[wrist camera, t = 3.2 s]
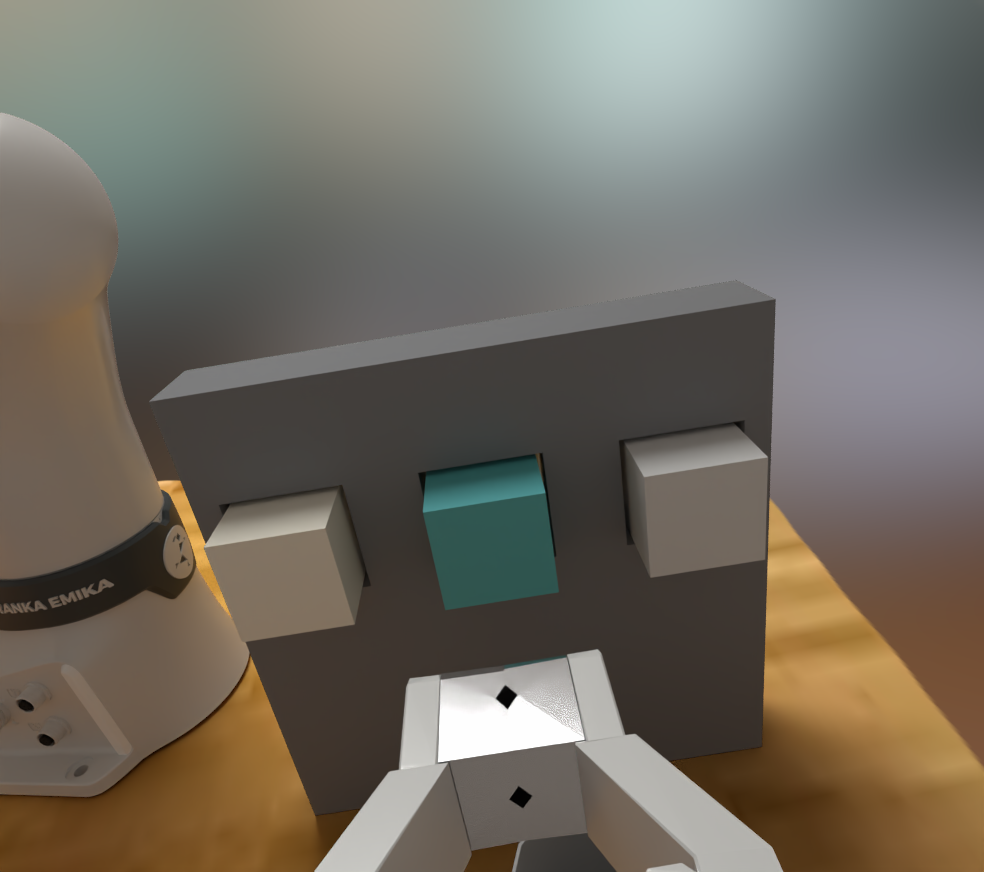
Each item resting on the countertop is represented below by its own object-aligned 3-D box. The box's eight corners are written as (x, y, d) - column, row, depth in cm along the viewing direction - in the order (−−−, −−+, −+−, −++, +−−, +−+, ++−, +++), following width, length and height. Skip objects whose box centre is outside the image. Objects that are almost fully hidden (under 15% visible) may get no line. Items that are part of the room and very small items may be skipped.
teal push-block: (445, 610, 28) (422, 512, 26) (446, 534, 34) (428, 448, 32) (558, 592, 28) (545, 492, 26) (541, 519, 34) (529, 432, 32)
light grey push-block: (650, 577, 28) (644, 477, 26) (618, 507, 34) (611, 419, 31) (765, 559, 28) (767, 457, 26) (714, 491, 33) (713, 402, 31)
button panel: (315, 815, 37) (148, 401, 27) (327, 756, 41) (185, 370, 30) (761, 746, 37) (775, 299, 26) (734, 692, 41) (736, 280, 30)
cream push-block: (241, 642, 28) (203, 547, 26) (276, 561, 34) (246, 477, 32) (354, 624, 28) (325, 528, 26) (370, 546, 34) (347, 461, 32)
